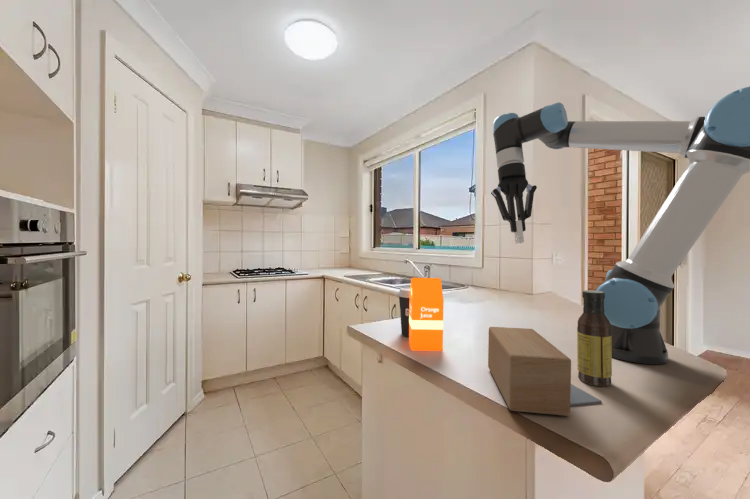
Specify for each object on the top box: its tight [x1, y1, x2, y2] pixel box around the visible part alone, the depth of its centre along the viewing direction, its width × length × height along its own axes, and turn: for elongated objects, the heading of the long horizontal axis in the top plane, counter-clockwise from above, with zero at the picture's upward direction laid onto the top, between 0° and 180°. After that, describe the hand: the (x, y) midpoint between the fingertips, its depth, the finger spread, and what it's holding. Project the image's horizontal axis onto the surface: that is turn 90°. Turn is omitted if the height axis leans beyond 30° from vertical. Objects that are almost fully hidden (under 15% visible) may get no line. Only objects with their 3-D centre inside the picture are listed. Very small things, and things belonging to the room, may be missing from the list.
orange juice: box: [408, 277, 444, 352], centre depth 91 cm, size 8×9×20 cm
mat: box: [570, 383, 603, 407], centre depth 65 cm, size 14×12×1 cm
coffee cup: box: [397, 286, 411, 338], centre depth 103 cm, size 10×10×15 cm
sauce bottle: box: [576, 289, 613, 388], centre depth 69 cm, size 6×6×20 cm
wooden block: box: [487, 326, 572, 416], centre depth 64 cm, size 10×10×20 cm
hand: (519, 242), depth 93 cm, fingers closed
